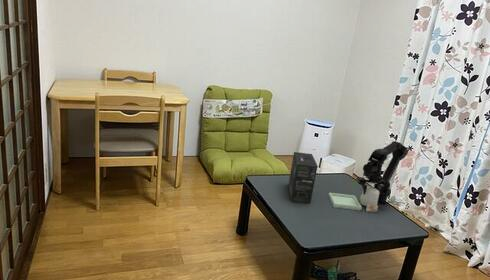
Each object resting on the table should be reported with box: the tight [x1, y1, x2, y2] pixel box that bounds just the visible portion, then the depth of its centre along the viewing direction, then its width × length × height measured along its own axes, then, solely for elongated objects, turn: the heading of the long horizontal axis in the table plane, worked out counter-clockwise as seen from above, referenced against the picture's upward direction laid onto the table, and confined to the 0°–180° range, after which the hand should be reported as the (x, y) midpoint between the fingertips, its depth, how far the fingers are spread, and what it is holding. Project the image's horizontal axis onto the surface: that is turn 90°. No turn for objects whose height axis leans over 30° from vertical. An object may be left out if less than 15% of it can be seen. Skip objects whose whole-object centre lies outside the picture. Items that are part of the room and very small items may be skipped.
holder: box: [358, 195, 379, 213], centre depth 228 cm, size 6×14×4 cm, turn 0°
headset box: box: [288, 151, 319, 204], centre depth 228 cm, size 22×12×26 cm, turn 179°
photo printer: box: [359, 185, 379, 207], centre depth 227 cm, size 10×4×12 cm, turn 39°
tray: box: [328, 192, 363, 211], centre depth 227 cm, size 16×16×2 cm
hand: (370, 195), depth 226 cm, fingers closed on photo printer, 7 cm apart
